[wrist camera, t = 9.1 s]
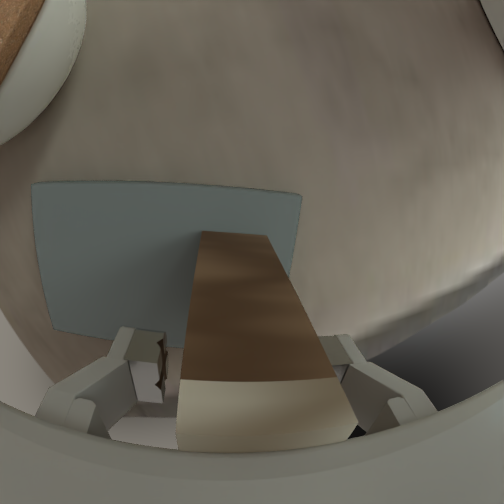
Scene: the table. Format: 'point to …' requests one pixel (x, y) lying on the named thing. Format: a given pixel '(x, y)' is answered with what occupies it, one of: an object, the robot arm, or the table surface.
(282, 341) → the brown and white block
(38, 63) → the lidded jar
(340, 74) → the table surface
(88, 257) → the slate mat
